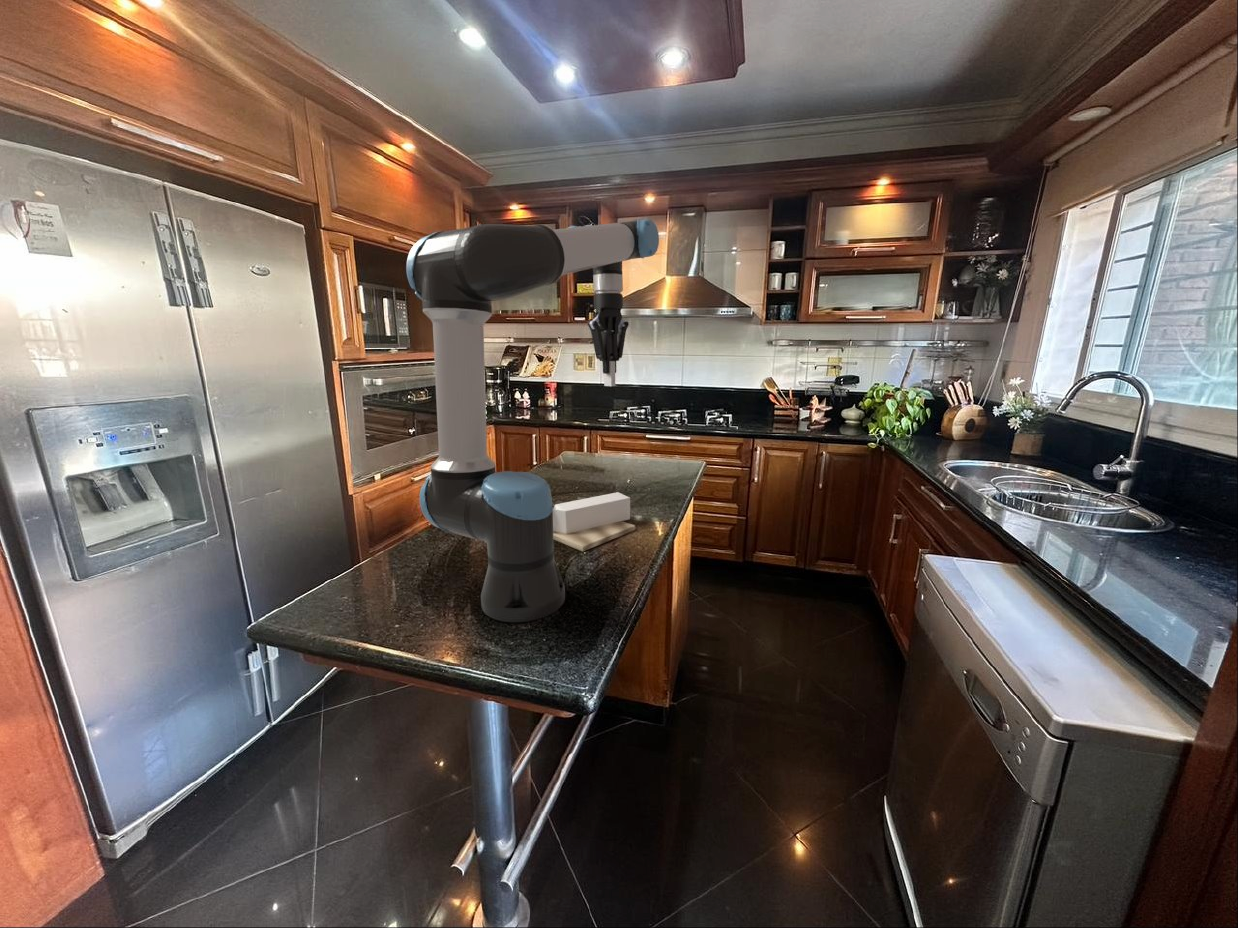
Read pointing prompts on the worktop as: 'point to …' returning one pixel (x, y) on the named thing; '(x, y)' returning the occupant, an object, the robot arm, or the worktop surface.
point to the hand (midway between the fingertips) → (609, 385)
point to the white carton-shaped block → (590, 512)
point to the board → (594, 535)
